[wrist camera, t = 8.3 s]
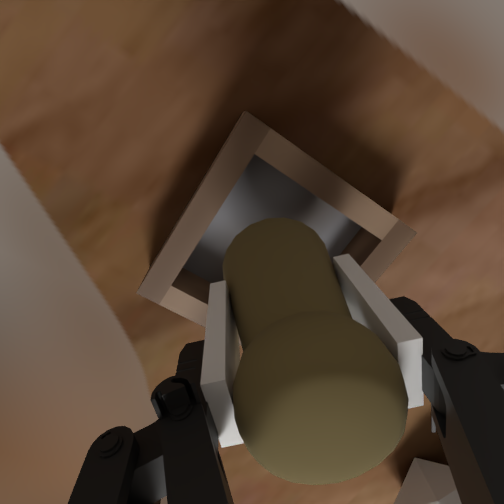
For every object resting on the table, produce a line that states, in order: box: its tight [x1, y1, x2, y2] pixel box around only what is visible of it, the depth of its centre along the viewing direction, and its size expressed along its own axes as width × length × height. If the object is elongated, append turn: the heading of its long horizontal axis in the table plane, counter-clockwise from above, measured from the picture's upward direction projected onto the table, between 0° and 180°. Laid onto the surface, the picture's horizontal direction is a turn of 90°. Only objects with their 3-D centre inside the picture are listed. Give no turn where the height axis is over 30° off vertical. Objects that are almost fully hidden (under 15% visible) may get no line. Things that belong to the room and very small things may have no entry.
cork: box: [222, 217, 409, 485], centre depth 14 cm, size 6×6×11 cm
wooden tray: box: [137, 111, 417, 346], centre depth 22 cm, size 12×12×4 cm
